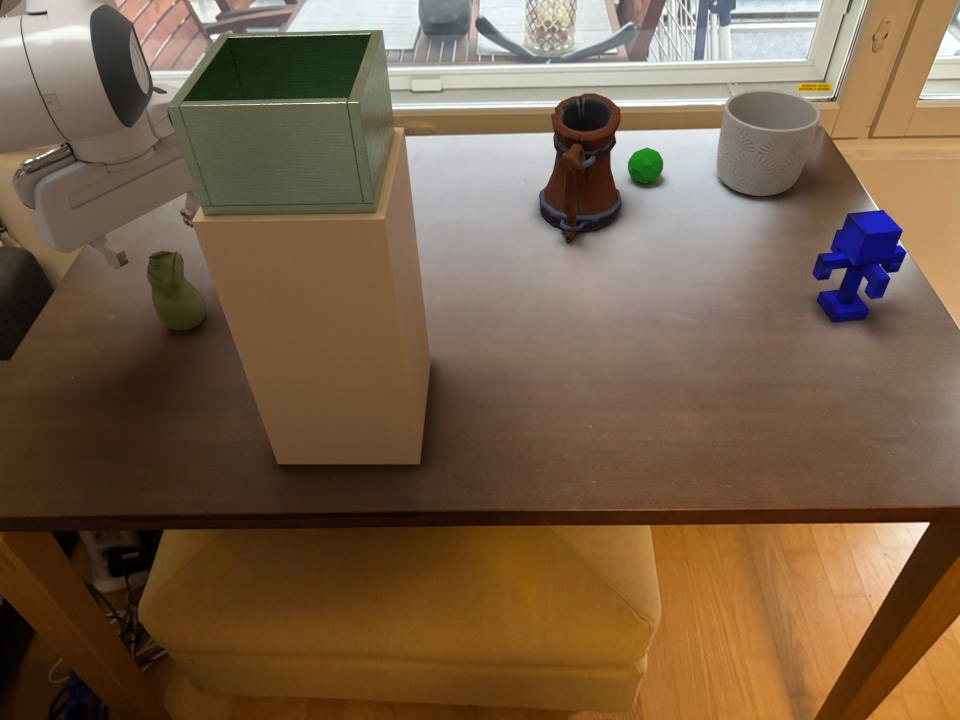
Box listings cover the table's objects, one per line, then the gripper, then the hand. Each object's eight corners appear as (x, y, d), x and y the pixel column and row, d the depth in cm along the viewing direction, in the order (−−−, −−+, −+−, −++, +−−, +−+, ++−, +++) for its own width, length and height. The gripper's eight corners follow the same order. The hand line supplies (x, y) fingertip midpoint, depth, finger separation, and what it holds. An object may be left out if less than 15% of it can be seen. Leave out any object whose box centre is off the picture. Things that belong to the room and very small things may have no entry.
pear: (169, 311, 91) (140, 243, 84) (213, 307, 91) (188, 238, 84) (161, 342, 87) (130, 273, 80) (207, 337, 87) (180, 268, 80)
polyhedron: (666, 186, 107) (670, 156, 104) (634, 191, 107) (637, 161, 103) (652, 169, 111) (656, 140, 108) (621, 174, 110) (624, 144, 107)
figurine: (884, 304, 87) (923, 216, 79) (863, 340, 83) (901, 251, 75) (819, 281, 91) (850, 194, 82) (796, 314, 86) (826, 226, 78)
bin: (277, 464, 73) (152, 111, 48) (305, 365, 83) (214, 30, 58) (419, 464, 72) (368, 107, 47) (430, 364, 82) (393, 25, 57)
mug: (605, 267, 94) (616, 159, 84) (517, 254, 97) (517, 148, 86) (626, 193, 107) (638, 91, 96) (547, 183, 109) (551, 83, 99)
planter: (789, 160, 112) (809, 89, 104) (808, 205, 103) (831, 131, 95) (705, 159, 113) (718, 89, 105) (716, 203, 104) (732, 130, 96)
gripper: (20, 180, 64) (85, 303, 74) (215, 94, 75) (250, 211, 85) (-14, 158, 67) (53, 280, 77) (179, 79, 78) (216, 194, 88)
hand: (158, 243), depth 81 cm, fingers open, 8 cm apart
